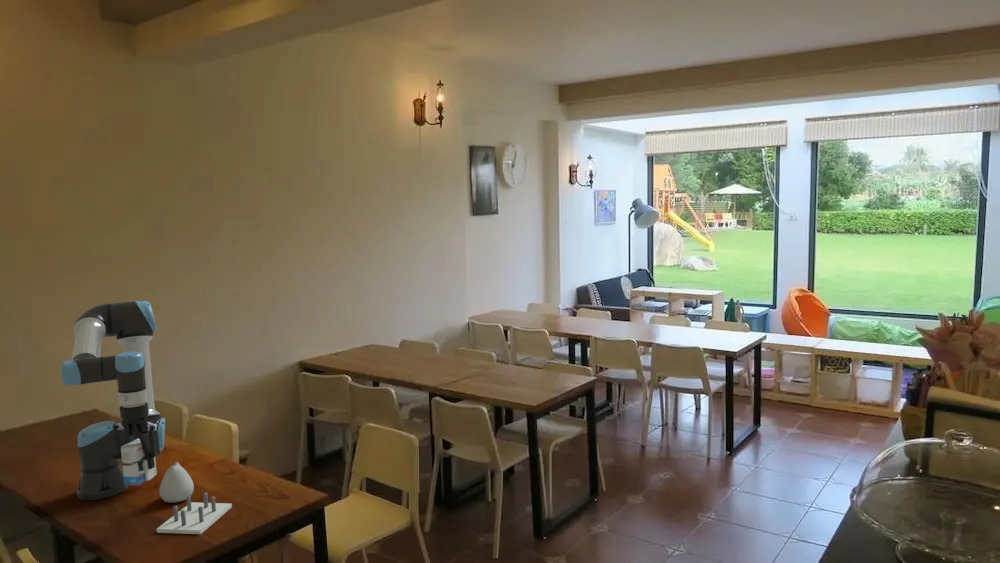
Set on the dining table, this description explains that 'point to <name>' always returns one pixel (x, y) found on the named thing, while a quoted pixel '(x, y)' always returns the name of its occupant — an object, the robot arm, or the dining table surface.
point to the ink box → (134, 463)
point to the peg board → (194, 516)
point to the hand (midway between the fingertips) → (141, 478)
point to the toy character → (176, 484)
